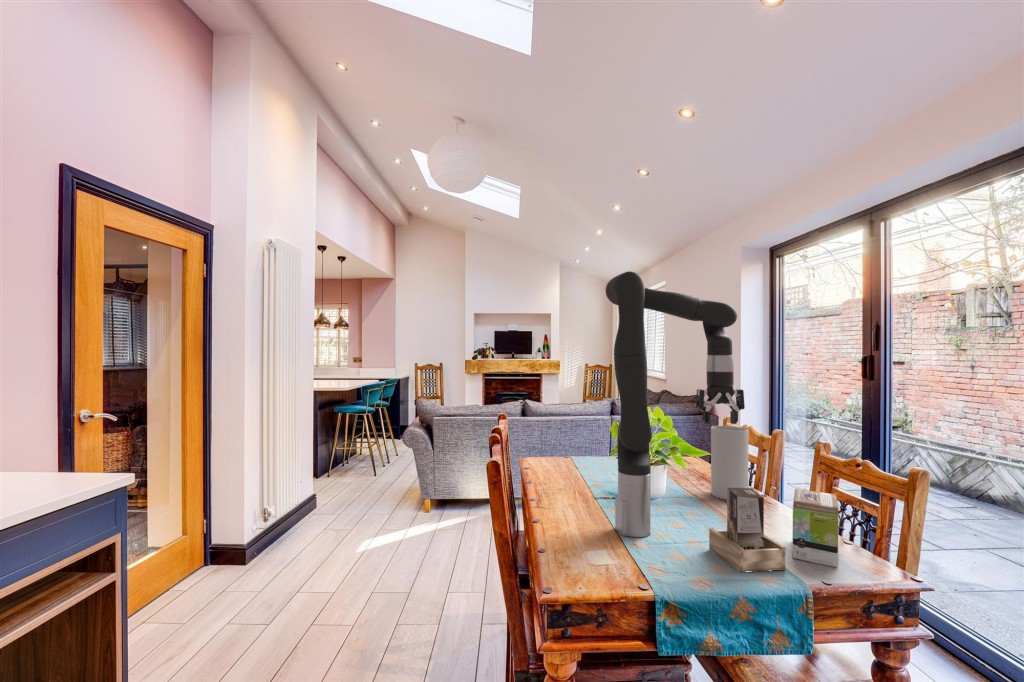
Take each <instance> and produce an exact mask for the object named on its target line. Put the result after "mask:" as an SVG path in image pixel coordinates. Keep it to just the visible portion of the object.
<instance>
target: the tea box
mask: <svg viewBox="0 0 1024 682" xmlns="http://www.w3.org/2000/svg"><path fill="white" fill-rule="evenodd" d="M793 494H794V496H793V504H792V540H791V541H792V558H793V559H796V560H800V561H803V562H804V561H806V562H808V563H809V562H810V563H815V564H820V565H823V566H829V567H833V568H834V567H835V568H837V567H838V566H839V523H840V522H839V518H840V517H839V516H840V515H839V514H840V513H839V505H838V500H837V499H838V497H837V494H835V493H834V494H833V493H827V492H819V491H814V490H806V489H800V488H795V489H794V493H793Z"/></svg>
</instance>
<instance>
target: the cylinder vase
mask: <svg viewBox="0 0 1024 682" xmlns="http://www.w3.org/2000/svg"><path fill="white" fill-rule="evenodd" d="M727 488H749V429H748V428H747V427H740V426H732V425H731V426H730V425H712V426H710V494H711V495H712V496H713V497H714V496H715V497H714V498H716V499H719V498H720V500H723V499H724V501H727Z"/></svg>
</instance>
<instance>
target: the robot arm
mask: <svg viewBox="0 0 1024 682" xmlns="http://www.w3.org/2000/svg"><path fill="white" fill-rule="evenodd" d="M605 295H606V297H607V299H608V300H609V301H610V302H611V303H612V304H614V305H615V306H618V316H619V317H618V328H617V331H616V336H615V341H614V346H613V362H614V363H613V364H614V365H613V366H614V374H615V379H616V385H617V386H616V387H617V391H618V396H619V399H620V400H619V401H620V422H619V424H618V427H617V495H616V496H615V498H614V499H615V501H614V502H615V506H614V507H615V508H614V509H615V510H614V513H615V514H614V516H615V517H614V518H615V519H614V529H615V530H616V531H617V532H618V533H619V534H621V536H623V537H624V536H628V537H632V538H644V537H647V536H650V534H651V479H652V478H651V475H652V473H651V472H652V471H651V467H652V466H651V457H650V456H651V455H650V444H651V441H652V437H653V432H652V426H651V422H650V415H649V408H648V398H647V396H648V395H647V394H648V361H647V360H648V359H647V357H648V356H647V348H646V334H645V318H644V315H645V313H644V312H645V309H646V310H651V311H656V312H659V313H662V314H666V315H670V316H673V317H677V318H679V319H685V320H689V321H692V322H702V327H703V331H704V335H705V339H706V342H707V343H706V346H707V347H706V350H707V353H706V355H707V356H706V368H705V369H706V389H702V388H701V389H699V388H697V389H696V398H695V399H696V400H695V402H696V403H695V409H698V410H700V411H701V412H702V413H701V414H702V416H701V417H702V422H703V424H705V425H710V424H711V418H710V417H711V412H710V410H711V409H712V407H714V406H715V405H720V404H723V405H727V406H728V408H729V409H730V415H729V416H730V419H729V420H730V423H731V425H737V423H738V422H739V412H740V411H741V410H744V409H746V408H745V407H746V406H745V392H744V389H738V388H737V389H734V383H735V382H734V359H733V340H732V338H731V336H728V335H726V332H725V328H728V327H730V326H732V325H734V324H735V323H736V322H737V320H738V314H737V310H736V309H735V308H734V307H733V306H732V305H730V304H727V303H725V302H722V301H721V302H720V301H715V300H714V301H713V300H706V299H701V298H698V297H695V296H693V295H688V294H685V293H679V292H673V291H663V290H658V289H652V288H647V287H645V283H644V280H643V277H641V276H640V275H639V273H637V272H635V271H624V272H623V273H620V274H617V275H616V276H614V277H612V278H611V279H610V280H609V281H608V282H607V284H606V287H605ZM706 396H707V398H706V400H705V397H706ZM733 396H734V397H735V400H734V399H733Z"/></svg>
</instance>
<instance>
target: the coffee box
mask: <svg viewBox="0 0 1024 682" xmlns="http://www.w3.org/2000/svg"><path fill="white" fill-rule="evenodd" d="M764 501H765V497H764V496H763V495H761V494H759V493H758V492H757V491H755V490H754V489H753V488H749V487H748V488H727V500H726V521H727V522H726V524H727V525H726V526H727V527H726V528H727V529H726V530H727V538H728V539H730V540H731V541H733V542H734V543H736V544H737V545H739V546H740V547H742V548H743V549H744V550H750V549H764V535H765V533H764V529H765V528H764V521H765V520H764V519H765V518H764V517H765V514H764V513H765V512H764V510H765V507H764V505H765V502H764Z"/></svg>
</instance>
